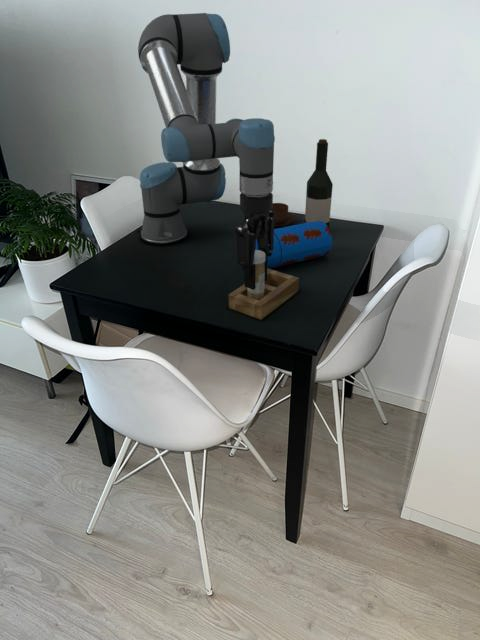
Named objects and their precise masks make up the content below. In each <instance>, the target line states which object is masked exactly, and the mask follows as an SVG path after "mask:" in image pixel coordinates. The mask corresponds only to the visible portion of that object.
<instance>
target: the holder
mask: <svg viewBox="0 0 480 640" xmlns="http://www.w3.org/2000/svg"><path fill="white" fill-rule="evenodd" d="M299 285H300V277H297V276H295V275H292V274H288V273H284V272H281V271H278V270H275V269H273V268H271V269H267V281H265V289H264V297H263V298H262V299H261V300H256V299H253V298H250V297H248V290H247V287H245V283H243V284H242V285H240V286H239V287H238V288H236V289H235V290H233V291H232V292H230V293H229V294H228V309H230V310H233V311H236V312H238V313H241V314H244V315H247V316H250V317H252V318H255V319H257V320H260V321H262V320H264V318H267V316H268V315H270V314H271V313H272V312H273V311H275V310H276V309H277V308H278V307H280V306H281V305H282V304H284V303H285V302H286V301H288V300H289V299H290V298H291V297H293V296H294V295H295V294H296V293H297V292H299V287H300V286H299Z"/></svg>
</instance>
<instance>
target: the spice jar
mask: <svg viewBox="0 0 480 640" xmlns="http://www.w3.org/2000/svg"><path fill="white" fill-rule="evenodd" d="M253 264H255V289H254V290H253V289H250V288H247V290H248V297H250V298H253V299H256V300H261V299H262V298H263V297H264V289H265V253H264V252H263V251H260V250H255V254H254V262H253Z"/></svg>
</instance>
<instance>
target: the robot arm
mask: <svg viewBox="0 0 480 640" xmlns="http://www.w3.org/2000/svg"><path fill="white" fill-rule="evenodd" d="M137 54H138V59H139V63H140V66H141V68H142V70H143V71H144V72H145V73H146V74H148V77H149V80H150V84H151V86H152V89H153V93H154V95H155V98H156V99H155V100H156V101H157V104H158V108H159V111H160V113H161V117H162V120H163V122H164V125H165V127H164V128H162V130H161V132H160V133H161V134H160V139H161V140H160V141H161V149H162V153H163V157H164V159H165V160H166V161H167V162H166V161H164V162H157V163H154V164H151V165H148V166H145V168H143V169H142V170H141V172H140V174H139V183H140V184H139V187H140V190H141V199H142V208H143V221H142V226H141V227H138V228H136V231H137V232H139V231H140V237H141V241H143V242H144V243H146V244H149V245H152V246H167V245H173V244H177V243H180V242H182V241H184V240H185V239H187V237H188V229H187V225H185V222H184V219H183V217H182V214H181V210H180V209H181V208H180V207H181V205H188V204H189V205H190V204H198V203H205V202H207V203H209V202H213V201H217V200H220V199H221V198H222V197H223V195H224V193H225V190H226V185H227V180H226V179H227V178H226V170H225V166H224V164H223V163H221V161H220V159H224V158H225V159H226V158H233V157H234V158H235V157H236V158H238V163H239V164H238V165H239V192H240V194H239V210H241V211H242V213H243V218H242V223H241V225H240V226H239V225H235V229H234V230H235V234H236V240H237V242H236V244H237V245H236V247H237V248H236V249H237V250H236V251H237V265H240V266H243V277H244V284H245V287H247V288H250V289H253V290H254V289H255V264H253V262H254V254H255V247H256V240H257V243H258V250H260V251H263V252H264V253H265V281H267V265H268V256H270V257H271V256H272V253H270V251H273V248H274V229H275V227H274V221H275V216H276V213H275V212H272V211H271V210H272V208H273V203H274V194H273V191H274V159H275V157H274V155H275V141H276V137H275V126H274V122H273V121H272V120H270V119H265V118H257V117H256V118H255V117H254V118H246V119H241V118H230V119H229V120H227V121H225V122H219V123H217V81H218V80H217V78H218V77H219V75H220V74H221V73H223V64H226V63H227V62H229V61H230V57H231V42H230V36H229V32H228V27H227V25H226V22H225V20H224V19H223V17H222V16H221V15H219V14H218V13H206V12H197V13H182V14H181V13H179V14H170V13H169V14H167V13H166V14H161V15H159V16H157V17H155V18H154V19H152V20H151V21H150V22H149V23H148V24H147V25H146V26H145V28H144V29H143V30H142V32H141V35H140V37H139V41H138V46H137ZM178 65H180V66H178ZM179 67H180V69H179ZM180 71H181V72H182V74H183V75H185V79H186V80H185V82H184V80H183V77H182V75H181V72H180ZM185 83H186V85H185ZM176 163H182V166H177V165H176ZM253 233H254V234H253Z"/></svg>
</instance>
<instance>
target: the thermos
mask: <svg viewBox="0 0 480 640" xmlns="http://www.w3.org/2000/svg"><path fill="white" fill-rule="evenodd" d="M252 234H254V233H252ZM332 245H333V238H332V232H331V230H330V227H329V228H328V226H327V225H326V224H325V223H324V222H322V221H315V222H308V223H305V222H303V223H299V224H294V225H287V226H283V227H277V228H274V248H273V251H270V253H272V256H271V257H270V256H268V265H267V269H274V268H275V269H276V268H279V267H284V266H287V265H292V264H296V263H301V262H304V261H309V260H314V259H317V258H320V257H324V256H327V255H328V254H329V253H330V252H331V250H332ZM255 250H258V243H257V240H256V247H255Z"/></svg>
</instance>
